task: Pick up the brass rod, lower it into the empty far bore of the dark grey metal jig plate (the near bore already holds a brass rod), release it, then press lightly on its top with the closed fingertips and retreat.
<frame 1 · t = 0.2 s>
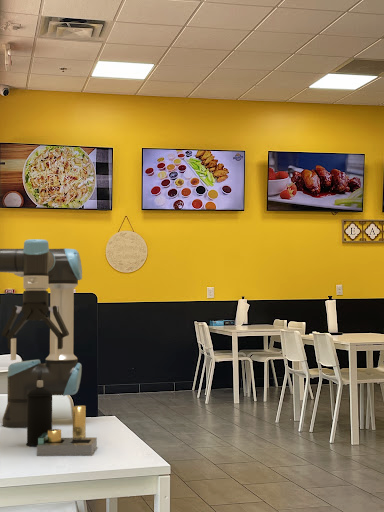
hand: (35, 360, 223), 27 cm above the table, fingers open, 13 cm apart
brass rod: (79, 444, 231), on the table
jig: (67, 451, 221), on the table
aerosol can: (39, 445, 232), on the table
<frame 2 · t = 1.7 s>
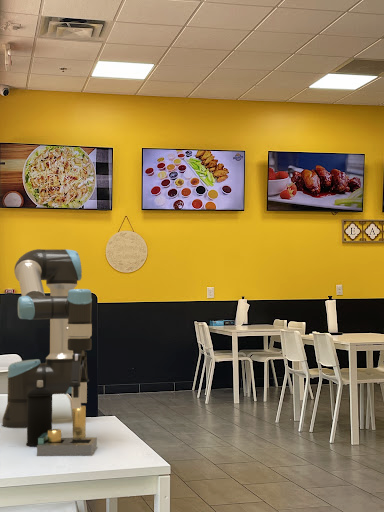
hand: (79, 405, 232), 12 cm above the table, fingers open, 13 cm apart
nothing on the table moved.
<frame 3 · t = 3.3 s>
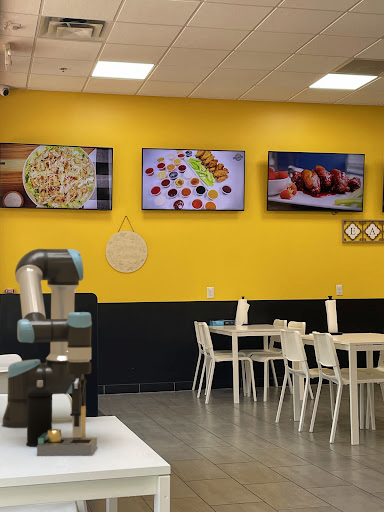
hand: (78, 435, 230), 3 cm above the table, fingers open, 6 cm apart
brass rod: (79, 444, 231), on the table, touching gripper
everything else where it was.
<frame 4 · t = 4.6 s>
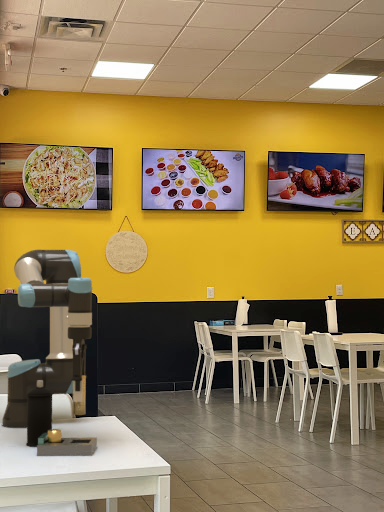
hand: (79, 400, 233), 14 cm above the table, fingers closed on brass rod, 4 cm apart
brass rod: (78, 413, 232), point 10 cm above the table, touching gripper
everything else where it was.
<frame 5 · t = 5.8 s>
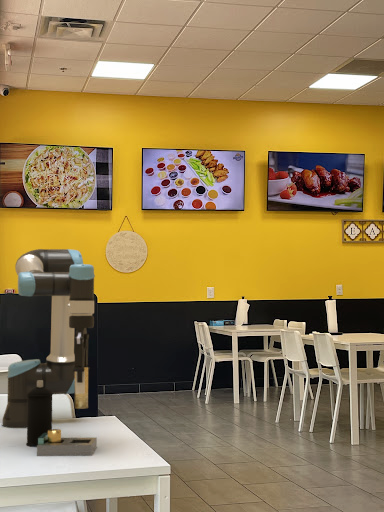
hand: (81, 392, 222), 18 cm above the table, fingers closed on brass rod, 4 cm apart
brass rod: (81, 407, 222), point 13 cm above the table, touching gripper
everything else where it was.
when the fingers open (5 cm above the table, at t = 7.7 s): brass rod stays where it is, resting on jig.
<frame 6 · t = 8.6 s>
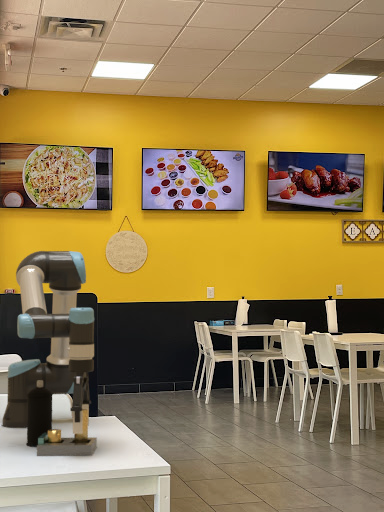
hand: (81, 429, 222), 7 cm above the table, fingers open, 13 cm apart
brass rod: (80, 450, 221), resting on jig
everything else where it was.
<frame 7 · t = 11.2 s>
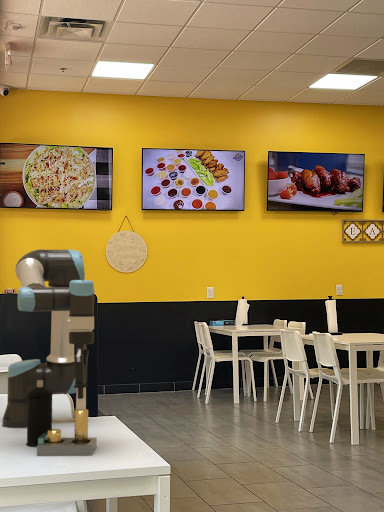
hand: (80, 409, 222), 13 cm above the table, fingers closed
brass rod: (80, 450, 221), resting on jig, touching gripper
everything else where it was.
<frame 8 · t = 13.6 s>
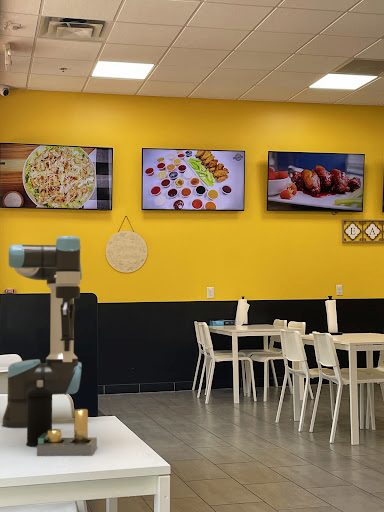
hand: (67, 361, 228), 26 cm above the table, fingers closed
brass rod: (80, 450, 221), resting on jig
everything else where it was.
at the end: brass rod 0.1 cm from the target spot on the jig, point 0.3 cm above the jig's base; brass rod tilted 0°; the gripper is holding nothing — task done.
